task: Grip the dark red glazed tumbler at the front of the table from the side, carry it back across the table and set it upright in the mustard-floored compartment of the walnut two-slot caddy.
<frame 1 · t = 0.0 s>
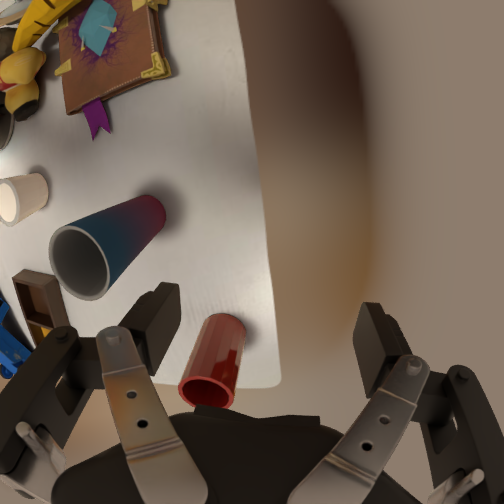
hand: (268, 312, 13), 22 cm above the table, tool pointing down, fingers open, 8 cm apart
torch: (9, 52, 21), point 6 cm above the table, touching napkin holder, toy
shot glass: (37, 190, 36), on the table
toy: (14, 56, 23), point 5 cm above the table, touching torch
tumbler: (224, 331, 41), on the table
caddy: (51, 315, 44), on the table
cup: (148, 214, 35), on the table
book: (117, 40, 27), on the table, touching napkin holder
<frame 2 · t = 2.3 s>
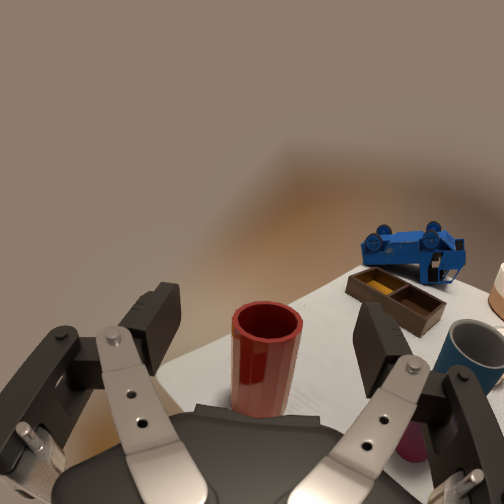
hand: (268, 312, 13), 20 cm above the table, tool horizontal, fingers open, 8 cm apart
toy vehicle: (414, 225, 61), point 11 cm above the table
tumbler: (258, 402, 30), on the table
caddy: (393, 305, 50), on the table
cup: (414, 445, 23), on the table
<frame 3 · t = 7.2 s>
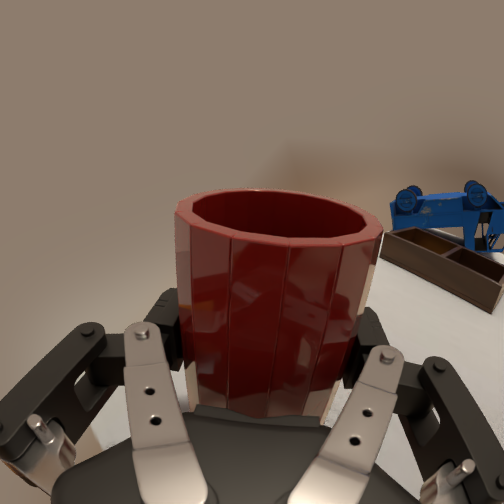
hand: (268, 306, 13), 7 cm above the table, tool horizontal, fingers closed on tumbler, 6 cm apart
toy vehicle: (452, 182, 45), point 11 cm above the table
tumbler: (254, 435, 14), on the table, touching gripper
caddy: (445, 274, 33), on the table
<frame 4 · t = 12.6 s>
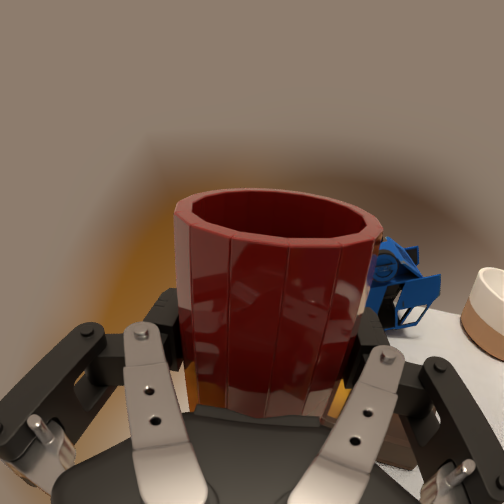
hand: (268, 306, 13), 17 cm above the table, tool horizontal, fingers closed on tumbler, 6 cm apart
toy vehicle: (342, 241, 39), point 11 cm above the table
bowl: (497, 333, 36), on the table
tumbler: (253, 435, 14), point 10 cm above the table, touching gripper
caddy: (344, 412, 26), on the table
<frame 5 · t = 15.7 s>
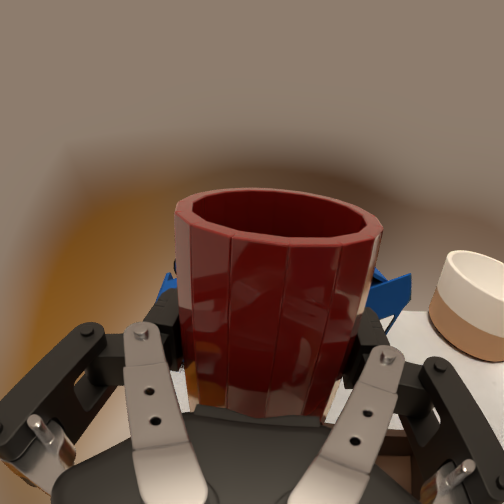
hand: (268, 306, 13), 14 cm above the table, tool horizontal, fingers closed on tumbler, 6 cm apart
toy vehicle: (266, 243, 29), point 11 cm above the table
bowl: (474, 326, 34), on the table
tumbler: (254, 435, 14), point 7 cm above the table, touching gripper
caddy: (306, 492, 15), on the table
when the fingers open (8 cm above the table, at t = 18.1 s): tumbler stays where it is, resting on caddy.
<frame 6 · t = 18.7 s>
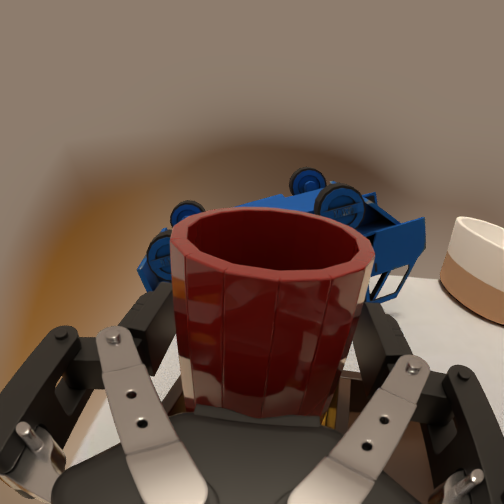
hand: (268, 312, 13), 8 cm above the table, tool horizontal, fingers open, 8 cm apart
toy vehicle: (270, 184, 26), point 11 cm above the table
bowl: (488, 294, 31), on the table
tumbler: (250, 443, 14), point 1 cm above the table, touching caddy
caddy: (323, 462, 13), on the table
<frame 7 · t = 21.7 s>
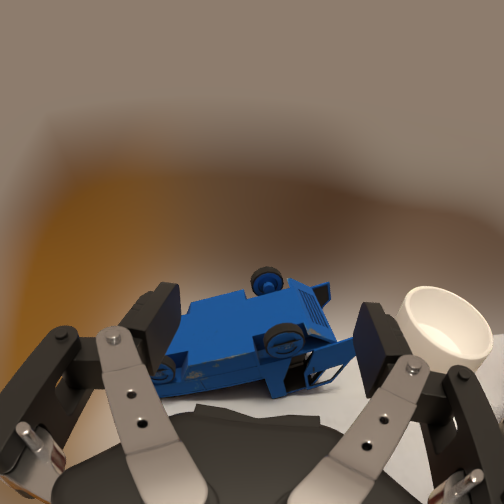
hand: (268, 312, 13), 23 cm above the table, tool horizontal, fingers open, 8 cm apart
toy vehicle: (230, 304, 32), point 11 cm above the table
bowl: (427, 357, 40), on the table
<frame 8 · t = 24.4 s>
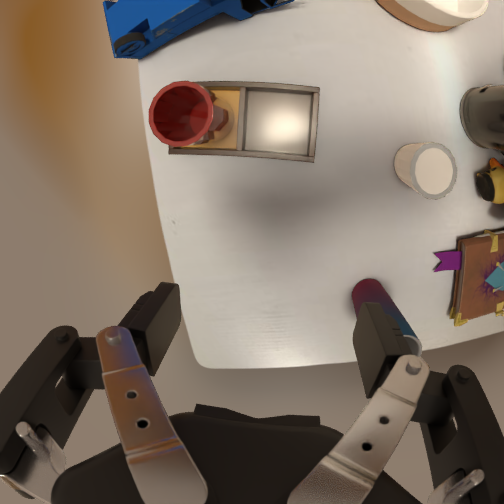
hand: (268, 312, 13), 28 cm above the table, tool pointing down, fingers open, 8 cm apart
shot glass: (411, 164, 35), on the table
tumbler: (210, 119, 35), point 1 cm above the table, touching caddy
caddy: (244, 119, 35), on the table
cup: (367, 292, 43), on the table
book: (486, 272, 39), on the table, touching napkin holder
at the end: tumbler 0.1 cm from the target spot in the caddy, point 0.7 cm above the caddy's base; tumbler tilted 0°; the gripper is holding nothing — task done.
